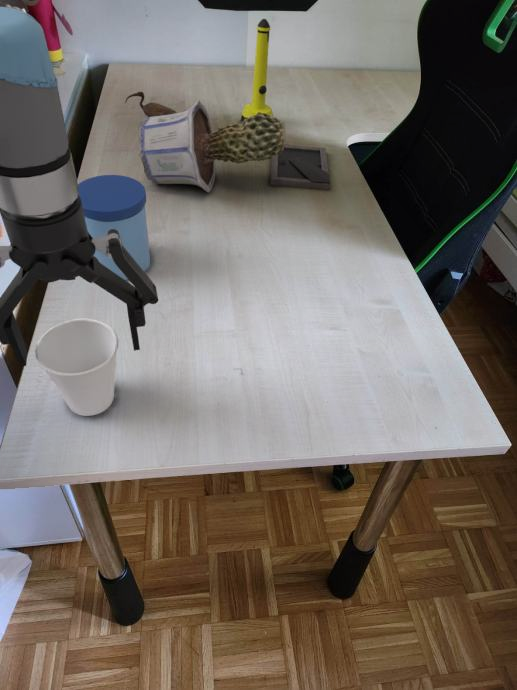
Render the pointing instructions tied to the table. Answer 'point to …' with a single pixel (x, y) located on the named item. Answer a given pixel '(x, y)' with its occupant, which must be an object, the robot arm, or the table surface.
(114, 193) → the blue lidded canister
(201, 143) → the potted plant
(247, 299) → the table surface
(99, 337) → the cup
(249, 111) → the flashlight
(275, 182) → the picture frame
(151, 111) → the figurine
